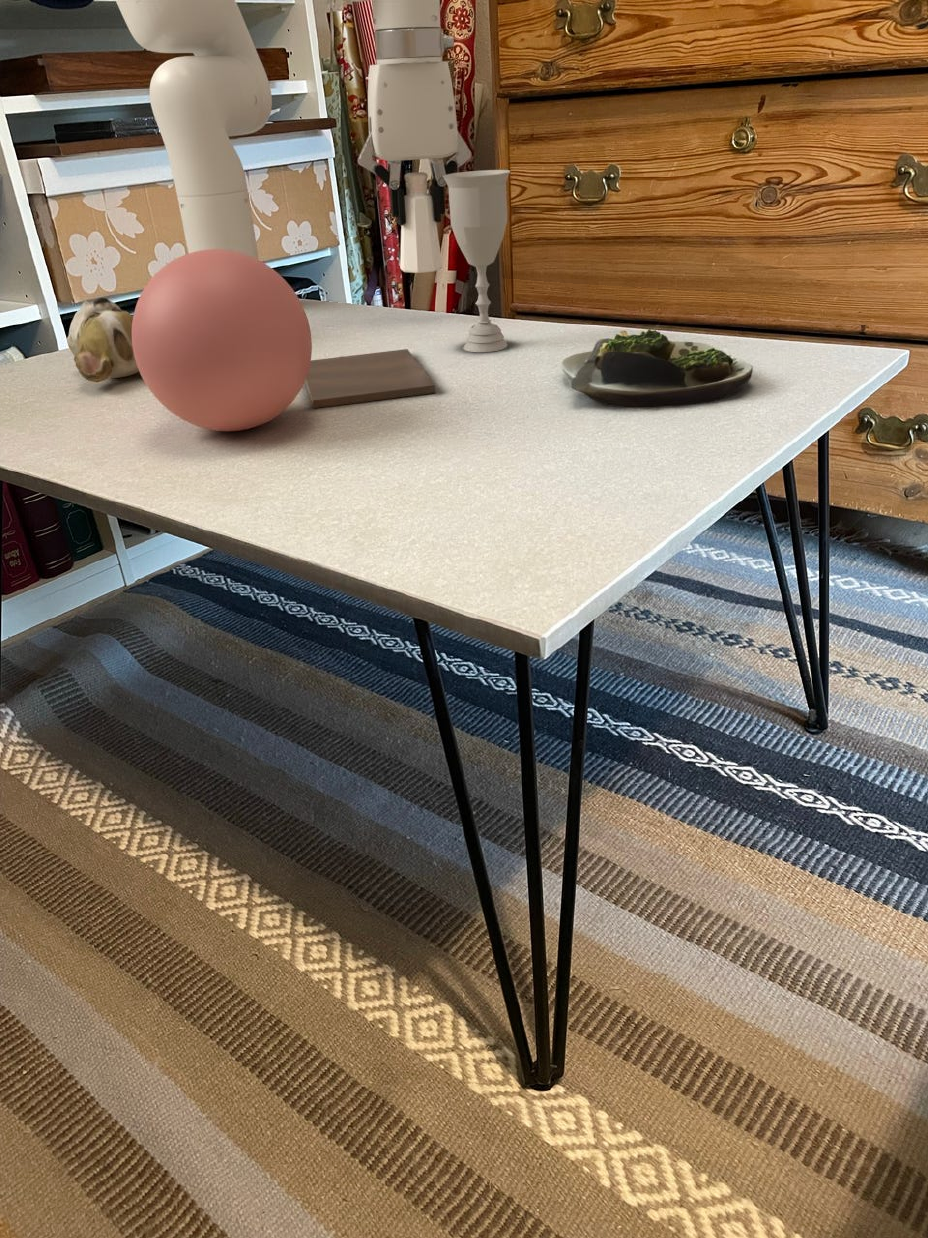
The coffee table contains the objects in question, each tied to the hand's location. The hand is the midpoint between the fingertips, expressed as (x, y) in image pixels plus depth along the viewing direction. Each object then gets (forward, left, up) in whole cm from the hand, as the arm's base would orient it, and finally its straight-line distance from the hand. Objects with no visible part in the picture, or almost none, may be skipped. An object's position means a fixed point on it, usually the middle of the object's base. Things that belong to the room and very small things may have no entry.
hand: (418, 220), depth 117 cm
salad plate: (+39, +15, -12) cm, 44 cm away
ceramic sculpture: (+10, -37, -12) cm, 41 cm away
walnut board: (+25, -11, -12) cm, 30 cm away
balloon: (+34, -25, -12) cm, 44 cm away
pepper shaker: (0, 0, -6) cm, 6 cm away
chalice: (+17, +4, -12) cm, 22 cm away
